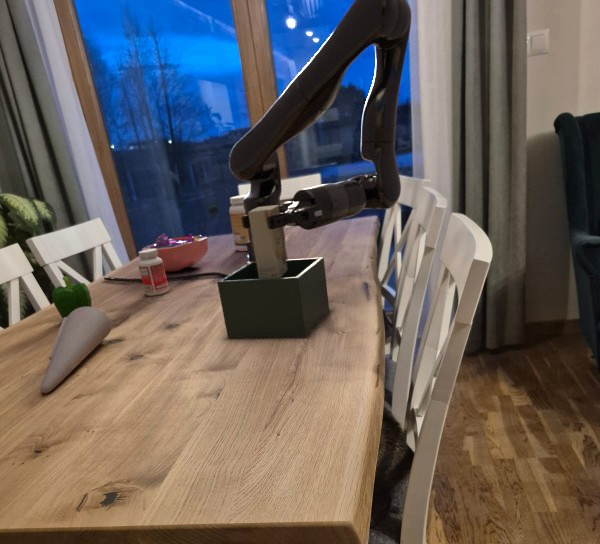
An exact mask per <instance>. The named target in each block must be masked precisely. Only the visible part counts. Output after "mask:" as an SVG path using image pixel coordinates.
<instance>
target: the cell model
mask: <svg viewBox="0 0 600 544" xmlns="http://www.w3.org/2000/svg"><path fill="white" fill-rule="evenodd" d="M208 241H209V240H208V237H207V236H203V235H201V234H199V235H196V236H193V235H192V233H188V236H183V237H175V238H169V237H168V236H167V234H165V233H161V234H160V235H159V236H158V237H157V238H156V240H155V242H154V243H151V244H148V245H145V246H144V247H142V248H141V251H143V250H147V249H157V252H158V255H157V257H159V258H161V259H162V261H163V266H164V270H165V272H167V273H173V272H175V273H176V272H179V271H181V270H183V269H186V268H190V267H194V266H195V265H198V264H199V263H200V262H201V261H202V260H203V259H204V258H205V256H206V255H207V253H208V250H209V242H208Z"/></svg>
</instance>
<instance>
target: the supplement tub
mask: <svg viewBox="0 0 600 544" xmlns="http://www.w3.org/2000/svg"><path fill="white" fill-rule="evenodd" d="M246 196H247V194H241V195H236V196H232V197H229V201H230V202H229V203H230V204H231V206H230V207H229V211H228V213H229V218H230V225H231V230H232V237H233V243H234V247H235V249H236V250H237V251H239V252H248V250H247V242H249V237H248V230H247V228H243V225H242V219H241V218H242V216H245V212H244V206H243V200H244V198H245V197H246Z"/></svg>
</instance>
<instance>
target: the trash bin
mask: <svg viewBox="0 0 600 544" xmlns="http://www.w3.org/2000/svg"><path fill="white" fill-rule="evenodd" d="M286 262H287V269H288V270H287V271H286V272H285V274H284V275H283V276H282V277H280V278H266V279H259V276H258V269H257V263H256V262H250V263H248V264H246V263H245V264H244V265H245V266H244V265H242V266H243V267H242V266H240V267H241V268H240V267H239V268H240V269H238V268H237V269H238V270H237V269H236V270H234V271H233V272H231V273H229V274H230V275H228V276H226V277H222V279H220V280H218V281H217V287H218V294H219V299H220V304H221V311H222V314H223V320H224V326H225V329H226V336H227V339H274V338H275V339H277V338H278V339H279V338H281V339H282V338H285V339H286V338H287V339H288V338H307V337H308V336H309V334H310V333H311V332H312V331H313V330H314V329H315V328H316V327H317V326H318V325H319V323H320V322H321V320H323V319H324V317H325V316H326V315H327V314H328V313H329V312H330V303H329V294H328V283H327V278H326V266H325V257H309V258H307V257H306V258H292V259H289V258H288V260H286Z"/></svg>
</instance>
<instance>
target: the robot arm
mask: <svg viewBox="0 0 600 544" xmlns="http://www.w3.org/2000/svg"><path fill="white" fill-rule="evenodd" d="M411 26H412V10H411V6H410V4H409V2H408V1H407V0H354V1H353V3H352V4H351V5H350V7H348V10H347V11H346V12H345V14H344V15H343V17H342V18H341V20H340V22H339V23H338V24H337V25H336V27H335V28H334V30H333V31H332V33H331V34H330V36H329V37H328V38H327V39H326V41H325V42H324V43H323V44H322V45H321V47H320V48H319V50H317V52H316V53H315V54H314V56H313V57H311V59H310V61H309V62H307V64H306V65H305V66H304V67H303V68H302V70H301V71H300V72H298V74H297V75H296V76H295V77H294V79H293V80H292V81H291V82H290V83H289V84H288V86H287V87H286V89H285V90H284V91H283V93H282V94H280V96H279V97H278V98H277V99H276V101H275V102H274V103H273V104H272V105H271V107H270V108H269V109H268V110H267V112H265V114H264V115H263V117H262V118H261V119H260V120H259V121H258V122H257V123H256V124H255V125H254V126H253V127H252V128H251V129H250V130H249V131H248V132H247V133H246V134H244V135H243V136H242V138H240V139H239V140H238V141H237V142H236V143H235V144H234V145H233V147H232V149H231V151H230V154H229V158H228V165H229V170H230V172H231V174H232V175H233V176H234V178H236V179H237V180H240V181H243V182H250V187H249V191H248V193H247V194H246V195H247V196H246V197H245V198H244V200H243V206H244V212H245V216H242V218H241V219H242V225H243V228H247V230H248V237H249V242H247V250H248V251H247V258H248V261H247V262H245V264H244V265H242V266H240V267H238V268H237V269H236V270H238V269H240V268H241V267H243V266H245V265H246V264H248V263H250V262H256V257H255V251H254V245H253V238H252V232H251V226H250V220H249V214H248V212H250V211H252V210H253V209H256V208H257V207H264V206H273V205H278V206H279V214H276V215H272V216H268V217H267V224H268V228H269V229H276V228H279V227H282V234H283V241H284V248H285V255H286V260H289V258H288V257H289V256H288V249H287V243H286V236H285V235H286V234H285V228H284V227H296V226H298V227H300V228H301V229H303V230H306V231H310V230H315V229H318V228H321V227H324V226H328V225H331V224H334V223H336V222H339V221H341V220H344V219H347V218H350V217H353V216H356V215H358V214H359V213H361V212H362V211H363V210H367V209H368V210H389V209H392V208H393V207H395V206H396V204H397V203H398V201H399V199H400V196H401V192H402V191H401V190H402V183H401V178H400V177H401V176H400V171H399V167H398V161H397V157H396V151H395V148H396V144H395V143H396V131H397V110H398V103H399V94H400V88H401V81H402V76H403V71H404V66H405V65H404V64H405V59H406V54H407V50H408V49H407V48H408V44H409V38H410V34H411ZM370 46H374V52H375V53H374V54H375V55H374V56H375V67H374V76H373V80H372V84H371V87H370V90H369V93H368V96H367V98H366V101H365V104H364V107H363V111H362V116H361V126H360V130H361V131H360V156H361V158H362V159H363V160H364V161H367V162H370V163H373V167H374V170H375V173H364V174H359V175H356V176H353V177H351V178H349V179H347V180H342V181H338V182H335V183H334V182H333V183H323V184H319V185H314V186H311V187H305V188H302V189H298V190H297V191H296V192H295V193H294V195H293V197H292V200H291V201H284V202H282V203H281V196H282V192H283V191H282V190H283V189H282V179H281V178H282V176H281V165H280V158H279V153H278V150H279V149H280V148H281V147H282V146H283V145H284V144H286V143H287V142H289V141H291V140H293V139H294V138H295V137H297V136H299V135H300V134H301V133H303V132H305V131H306V130H307V129H309V128H311V126H313V125H314V124H315V123H316V122H317V121H318V120H319V119H320V118H321V117H322V116H323V115H324V114H325V113H326V112H327V111H328V109H330V107H331V106H332V105H333V104H334V102H335V100H336V99H337V97H338V94H339V92H340V89H341V86H342V82H343V79H344V77H345V74H346V72H347V71H348V69H349V68H350V67H351V65H352V64H353V62H355V60H356V59H357V58H358V57H360V55H361V54H362V53H363V52H364V51H366V49H368V48H370ZM230 274H231V273H223V272H219V271H209V272H200V273H192V274H182V275H173V276H172V275H171V276H166V278H167V281H174V280H185V279H195V278H203V277H222V278H225V277H226V276H228V275H230ZM105 277H106V276H104V277H103V280H104V281H111V282H123V283H143V282H142V278H126V277H125V278H123V277H111V276H108V277H109V278H105ZM111 278H114V279H111Z"/></svg>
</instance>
